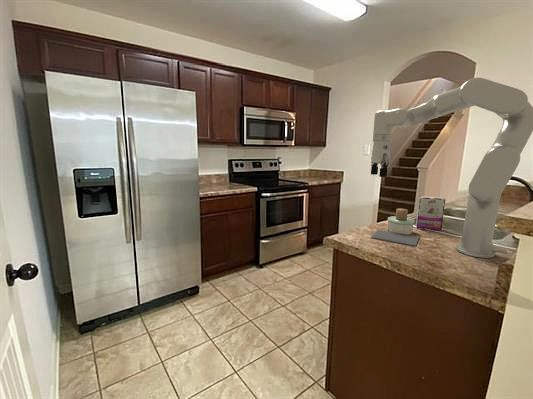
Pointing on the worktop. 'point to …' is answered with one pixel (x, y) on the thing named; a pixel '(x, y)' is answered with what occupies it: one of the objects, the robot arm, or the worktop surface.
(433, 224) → the candy bar box
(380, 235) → the mat
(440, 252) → the worktop surface
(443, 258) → the worktop surface
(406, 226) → the bowl
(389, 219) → the lid
